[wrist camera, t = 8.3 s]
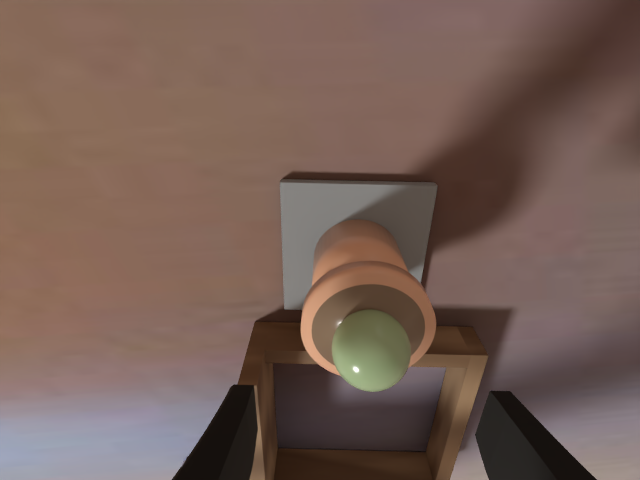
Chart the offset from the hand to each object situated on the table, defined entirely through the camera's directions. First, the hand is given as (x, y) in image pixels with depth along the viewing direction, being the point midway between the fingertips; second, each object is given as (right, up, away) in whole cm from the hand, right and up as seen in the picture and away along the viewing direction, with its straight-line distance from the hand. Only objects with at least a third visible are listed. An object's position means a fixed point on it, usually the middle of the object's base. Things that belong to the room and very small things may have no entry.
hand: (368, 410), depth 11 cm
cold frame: (+1, -6, +15) cm, 16 cm away
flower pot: (0, +4, +9) cm, 10 cm away
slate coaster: (0, +5, +9) cm, 10 cm away
